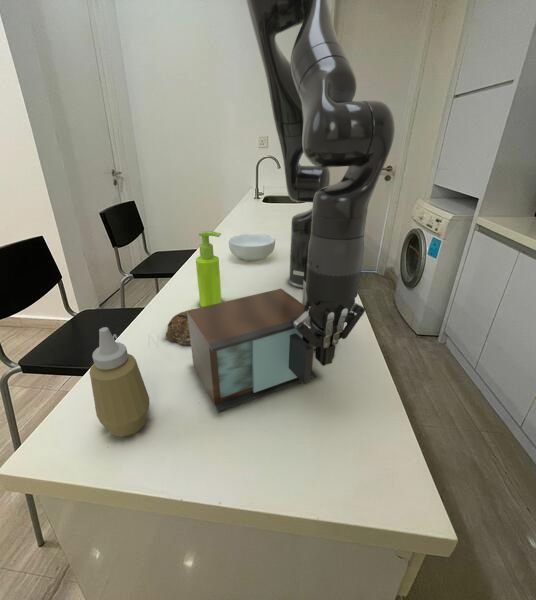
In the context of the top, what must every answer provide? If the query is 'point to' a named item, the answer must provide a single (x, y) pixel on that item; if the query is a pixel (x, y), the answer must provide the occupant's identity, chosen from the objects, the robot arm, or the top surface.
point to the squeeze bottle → (118, 387)
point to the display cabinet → (238, 343)
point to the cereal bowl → (252, 246)
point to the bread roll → (179, 329)
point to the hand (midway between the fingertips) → (324, 361)
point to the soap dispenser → (208, 272)
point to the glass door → (280, 359)
